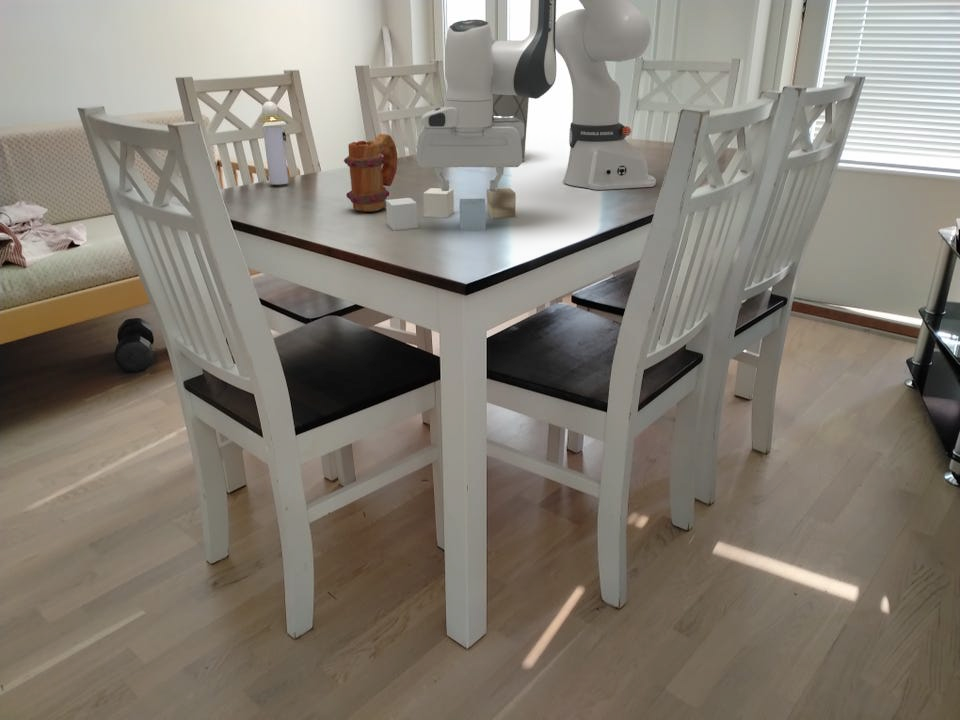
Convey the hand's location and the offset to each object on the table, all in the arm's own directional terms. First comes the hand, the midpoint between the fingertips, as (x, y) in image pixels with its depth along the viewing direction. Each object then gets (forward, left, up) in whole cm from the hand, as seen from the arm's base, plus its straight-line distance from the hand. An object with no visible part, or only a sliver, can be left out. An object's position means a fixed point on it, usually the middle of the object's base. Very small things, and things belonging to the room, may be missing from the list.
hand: (469, 190), depth 142 cm
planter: (-8, -73, -7) cm, 74 cm away
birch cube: (-7, -9, -7) cm, 13 cm away
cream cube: (+6, -10, -7) cm, 14 cm away
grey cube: (+13, -1, -7) cm, 15 cm away
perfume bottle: (+47, -42, -7) cm, 64 cm away
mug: (+20, -17, -7) cm, 28 cm away
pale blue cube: (-1, 0, -7) cm, 7 cm away
